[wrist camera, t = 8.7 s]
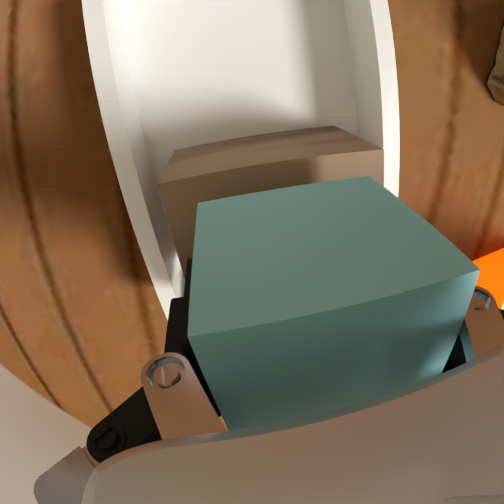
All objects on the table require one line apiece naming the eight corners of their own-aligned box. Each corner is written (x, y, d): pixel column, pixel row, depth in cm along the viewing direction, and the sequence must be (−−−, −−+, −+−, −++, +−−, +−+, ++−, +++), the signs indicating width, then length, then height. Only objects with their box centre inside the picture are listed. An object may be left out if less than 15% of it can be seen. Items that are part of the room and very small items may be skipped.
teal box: (197, 203, 10) (187, 336, 5) (368, 176, 11) (480, 269, 5) (230, 331, 13) (243, 460, 8) (362, 304, 14) (420, 413, 9)
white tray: (104, -5, 12) (79, -22, 8) (345, -35, 12) (375, -54, 9) (175, 287, 22) (170, 326, 19) (365, 251, 22) (389, 283, 19)
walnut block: (175, 150, 17) (157, 184, 11) (333, 125, 17) (383, 149, 12) (200, 257, 20) (199, 322, 15) (338, 232, 20) (376, 286, 15)
